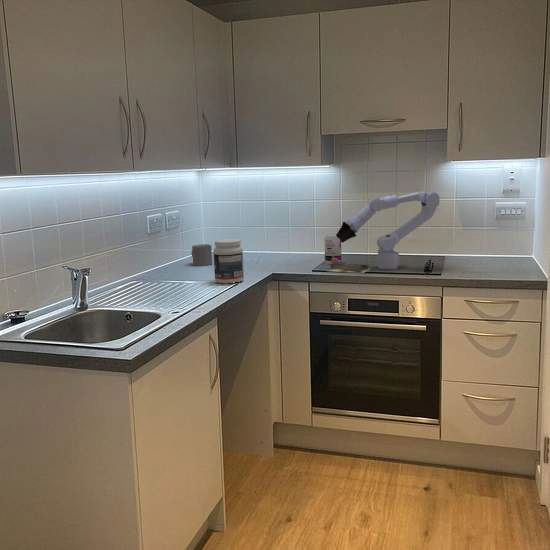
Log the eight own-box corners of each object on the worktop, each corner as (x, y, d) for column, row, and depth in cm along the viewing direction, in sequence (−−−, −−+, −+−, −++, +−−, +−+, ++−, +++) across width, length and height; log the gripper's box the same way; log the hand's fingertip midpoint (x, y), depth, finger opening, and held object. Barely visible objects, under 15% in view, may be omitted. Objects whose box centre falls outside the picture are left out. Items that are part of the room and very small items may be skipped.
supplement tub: (217, 279, 281) (215, 238, 278) (245, 278, 280) (243, 238, 277) (212, 285, 268) (210, 242, 265) (242, 284, 267) (240, 242, 264)
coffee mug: (215, 264, 321) (214, 245, 319) (198, 267, 316) (197, 247, 314) (204, 261, 332) (203, 243, 330) (187, 263, 327) (186, 245, 325)
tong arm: (363, 270, 282) (363, 264, 281) (359, 271, 280) (359, 265, 279) (339, 267, 292) (339, 261, 291) (336, 268, 290) (336, 262, 290)
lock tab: (338, 262, 292) (338, 258, 291) (336, 263, 290) (336, 259, 289) (333, 262, 293) (333, 258, 292) (331, 263, 291) (331, 258, 290)
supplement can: (341, 264, 310) (341, 234, 307) (341, 267, 301) (341, 236, 299) (325, 264, 310) (324, 234, 308) (324, 267, 302) (324, 236, 300)
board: (371, 271, 288) (371, 268, 288) (363, 275, 277) (363, 272, 277) (335, 269, 296) (335, 266, 296) (325, 273, 285) (325, 271, 285)
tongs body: (368, 269, 286) (368, 264, 286) (365, 270, 283) (365, 265, 283) (333, 267, 294) (333, 262, 294) (330, 268, 291) (330, 264, 290)
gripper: (357, 217, 292) (336, 237, 294) (351, 208, 279) (329, 229, 280) (367, 227, 290) (346, 247, 291) (362, 218, 276) (340, 239, 278)
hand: (339, 239), depth 285 cm, fingers open, 7 cm apart
